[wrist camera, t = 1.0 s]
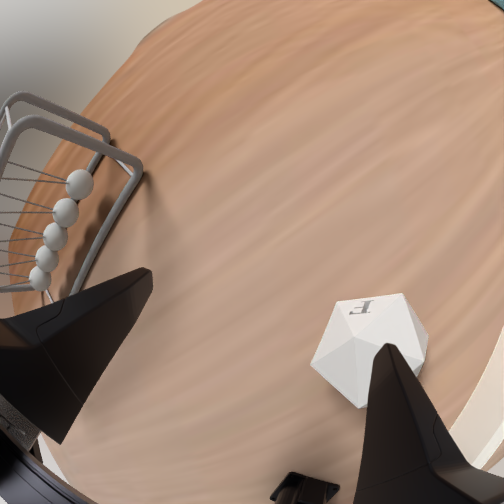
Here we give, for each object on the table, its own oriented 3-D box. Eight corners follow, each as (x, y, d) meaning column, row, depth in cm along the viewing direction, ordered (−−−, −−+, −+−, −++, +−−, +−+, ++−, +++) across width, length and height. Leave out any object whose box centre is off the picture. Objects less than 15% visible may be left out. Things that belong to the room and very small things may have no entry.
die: (429, 310, 20) (417, 260, 14) (425, 406, 16) (416, 409, 10) (349, 319, 25) (302, 279, 19) (338, 405, 21) (283, 402, 15)
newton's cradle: (114, 131, 32) (13, 84, 15) (152, 165, 29) (20, 109, 12) (39, 286, 37) (-43, 290, 20) (63, 333, 34) (-29, 349, 17)
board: (446, 452, 17) (460, 490, 10) (433, 451, 18) (447, 490, 11) (528, 282, 16) (569, 287, 9) (518, 277, 16) (559, 280, 9)
